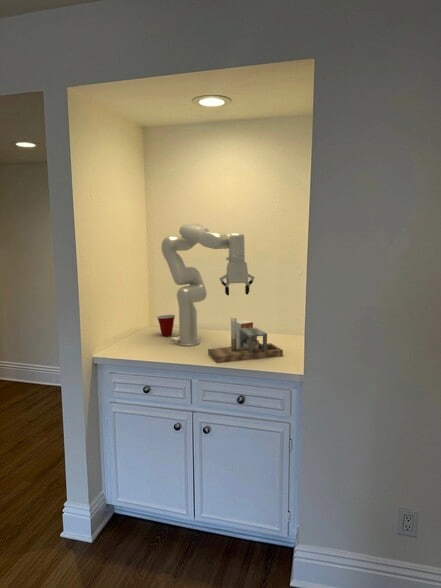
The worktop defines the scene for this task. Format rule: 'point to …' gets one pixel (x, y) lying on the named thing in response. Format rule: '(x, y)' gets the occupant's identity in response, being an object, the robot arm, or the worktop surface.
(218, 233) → the robot arm
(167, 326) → the plastic cup
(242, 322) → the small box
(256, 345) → the maple block
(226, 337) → the worktop surface
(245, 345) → the sliding frame
